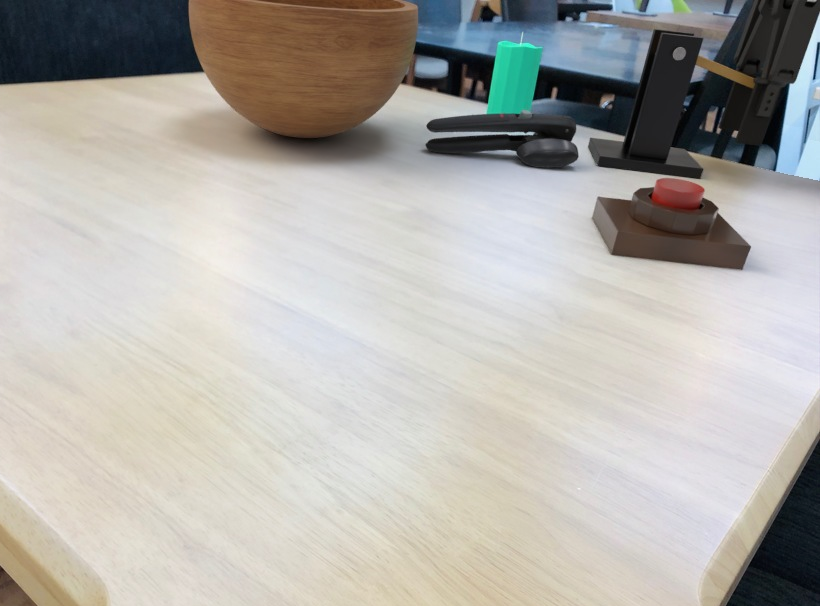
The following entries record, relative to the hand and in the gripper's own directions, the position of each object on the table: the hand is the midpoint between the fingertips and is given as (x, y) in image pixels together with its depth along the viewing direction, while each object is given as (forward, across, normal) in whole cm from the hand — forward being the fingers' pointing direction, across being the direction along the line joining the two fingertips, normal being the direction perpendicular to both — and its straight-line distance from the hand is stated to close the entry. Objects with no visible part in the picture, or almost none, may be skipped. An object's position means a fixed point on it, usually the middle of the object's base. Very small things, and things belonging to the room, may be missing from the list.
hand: (738, 135), depth 84 cm
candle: (+5, -11, -27) cm, 29 cm away
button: (+1, +28, -14) cm, 31 cm away
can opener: (+5, +6, -28) cm, 29 cm away
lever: (-6, 0, -6) cm, 8 cm away
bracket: (+4, 0, -10) cm, 11 cm away
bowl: (+5, +7, -52) cm, 52 cm away
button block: (+4, +28, -14) cm, 32 cm away
